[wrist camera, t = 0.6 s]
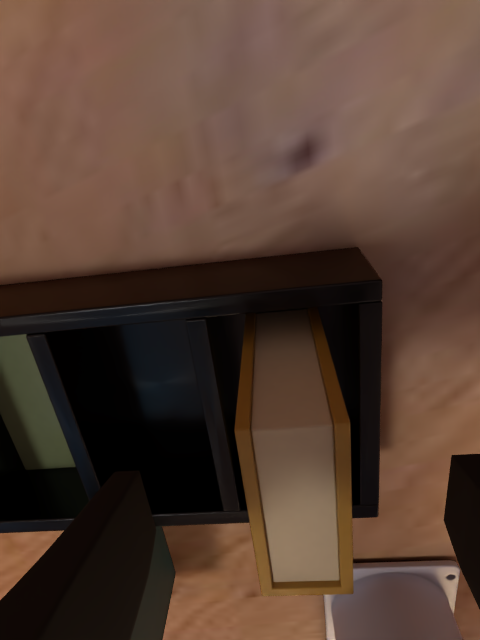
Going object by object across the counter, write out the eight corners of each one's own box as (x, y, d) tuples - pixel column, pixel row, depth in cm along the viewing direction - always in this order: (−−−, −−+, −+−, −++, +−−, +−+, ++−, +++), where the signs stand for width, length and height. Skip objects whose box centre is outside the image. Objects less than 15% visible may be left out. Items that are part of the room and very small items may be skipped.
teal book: (175, 573, 27) (140, 752, 19) (125, 574, 27) (70, 751, 20) (150, 487, 24) (96, 661, 16) (93, 490, 24) (14, 662, 16)
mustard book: (322, 430, 21) (354, 594, 14) (262, 434, 21) (261, 597, 14) (315, 301, 18) (350, 422, 11) (246, 308, 18) (233, 430, 11)
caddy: (360, 452, 22) (378, 517, 18) (23, 472, 24) (-20, 534, 20) (358, 246, 17) (382, 279, 14) (-60, 291, 19) (-135, 330, 16)
